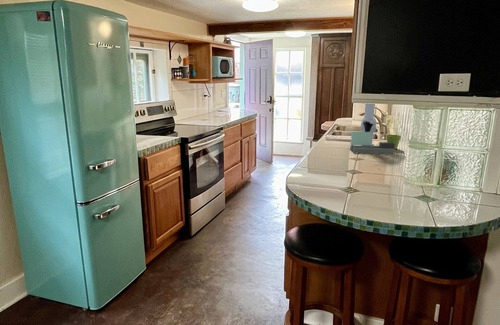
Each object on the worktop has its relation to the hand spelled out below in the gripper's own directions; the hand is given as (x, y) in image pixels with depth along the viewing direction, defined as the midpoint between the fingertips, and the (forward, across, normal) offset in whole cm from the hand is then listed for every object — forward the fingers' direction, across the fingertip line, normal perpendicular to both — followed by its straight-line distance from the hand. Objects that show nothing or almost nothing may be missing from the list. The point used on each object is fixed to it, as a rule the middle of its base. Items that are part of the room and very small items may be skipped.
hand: (367, 133), depth 220 cm
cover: (+3, +4, -5) cm, 7 cm away
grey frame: (+10, +8, 0) cm, 13 cm away
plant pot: (+10, -1, +18) cm, 21 cm away
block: (+10, +10, +10) cm, 17 cm away
